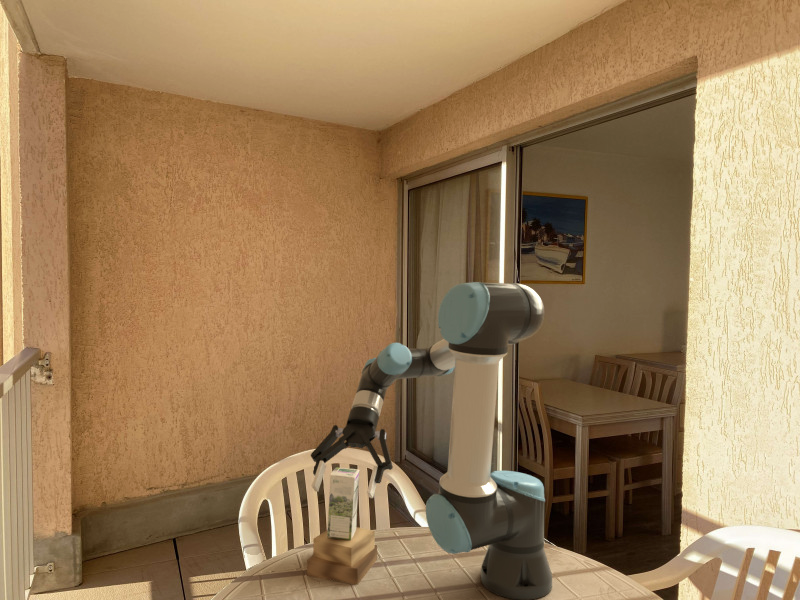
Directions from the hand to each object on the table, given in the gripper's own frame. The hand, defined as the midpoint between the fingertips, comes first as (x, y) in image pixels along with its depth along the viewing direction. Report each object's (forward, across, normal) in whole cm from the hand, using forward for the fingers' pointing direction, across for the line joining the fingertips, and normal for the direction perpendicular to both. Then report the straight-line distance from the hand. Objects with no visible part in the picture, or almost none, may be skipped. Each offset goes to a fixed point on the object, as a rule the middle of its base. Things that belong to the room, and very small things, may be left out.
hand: (341, 492), depth 130 cm
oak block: (+10, -1, -9) cm, 13 cm away
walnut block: (+13, -1, -12) cm, 17 cm away
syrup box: (+7, 0, -6) cm, 10 cm away
